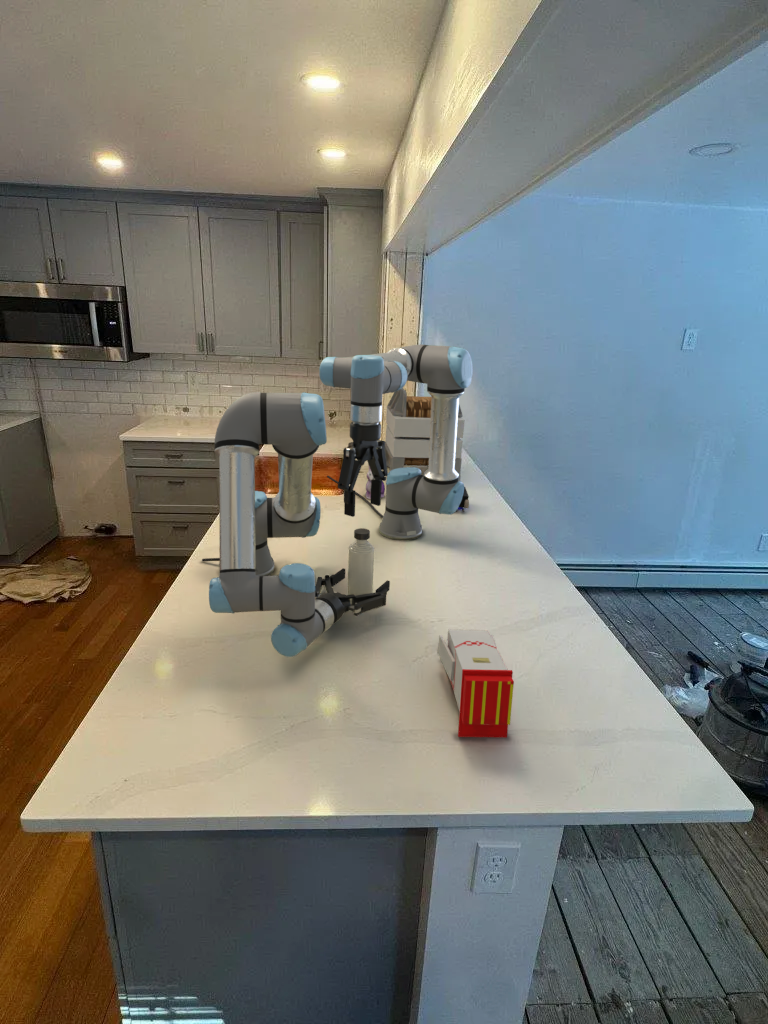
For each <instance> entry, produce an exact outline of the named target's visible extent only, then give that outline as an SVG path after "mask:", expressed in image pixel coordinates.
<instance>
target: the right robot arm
mask: <svg viewBox="0 0 768 1024" xmlns="http://www.w3.org/2000/svg"><path fill="white" fill-rule="evenodd" d="M473 368H474V367H473V360H472V356H471V354H470V352H469V351H468V350H467V349H466V348H464V347H458V346H454V345H435V344H434V345H433V344H420V343H419V344H412V345H405V346H399V347H394V348H391V349H390V350H388V351H387V352H381V353H380V352H379V353H372V354H355V355H354V356H347V357H346V356H345V357H338V356H327V357H324V358H323V359H322V361H321V362H320V364H319V373H318V375H319V379H320V381H321V383H322V384H323V385H324V386H327V387H331V388H332V387H333V388H341V389H348V390H349V389H350V411H349V412H350V415H349V417H350V418H349V420H350V423H349V438H350V439H351V440H352V442H353V445H352V447H351V448H347V447H344V448H343V450H342V451H343V454H342V455H343V458H342V463H341V468H340V473H339V478H338V480H336V479H335V478H333V477H331V476H330V475H327V476H326V478H328V479H329V480H331V481H332V482H334V483H335V484H336V485H337V489H339V490H343V504H344V505H343V506H344V507H343V509H344V510H343V514H344V516H345V515H346V516H349V517H352V518H354V517H356V496H357V497H359V498H360V499H362V500H363V501H364V502H365V503H366V504H367V505H369V507H370V508H371V509H372V510H373V511H374V513H376V515H378V516H379V517H380V518H381V522H379V526H378V533H379V534H380V535H381V536H382V537H385V538H387V539H389V540H395V541H410V540H415V539H418V538H420V537H421V536H422V535H423V525H422V524H421V518H420V515H419V510H421V511H427V512H432V513H436V514H439V515H442V514H443V515H448V516H449V515H453V514H454V513H456V510H457V511H458V507H459V505H460V503H461V500H462V497H463V493H464V487H465V484H464V482H463V481H462V480H460V481H458V479H459V474H458V473H457V472H456V471H455V454H456V438H457V423H458V407H459V405H460V398H461V396H462V395H463V394H464V393H465V389H466V388H469V387H470V386H471V384H472V378H473V373H474V371H473ZM407 382H412V383H418V384H425V385H426V392H427V393H428V394H429V395H430V397H432V399H431V422H430V444H429V465H428V466H427V469H426V470H424V472H423V474H422V470H421V468H419V467H415V466H411V467H410V466H406V467H405V466H404V468H397V469H393V470H391V471H390V470H388V467H387V464H386V457H385V450H384V449H385V442H386V441H385V440H381V437H382V424H381V423H382V420H383V395H385V394H389V393H390V394H391V393H393V394H394V392H396V391H397V390H400V389H402V388H403V389H404V387H405V386H406V384H407ZM365 462H367V465H368V464H369V466H368V468H369V467H370V469H371V472H372V475H373V477H374V479H372V480H371V499H370V501H369V499H367V498H365V496H363V495H361V494H360V493H358V492H357V491H356V490H354V488H355V486H356V483H357V480H358V478H359V474H360V472H361V469H362V467H363V466H364V465H365ZM382 481H383V482H385V504H384V505H385V507H384V508H385V509H384V513H383V514H382V513H381V512H379V511H378V510H377V508H375V506H378V507H380V506H381V504H382V503H381V502H382V498H381V490H382ZM374 505H375V506H374Z"/></svg>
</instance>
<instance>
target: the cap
mask: <svg viewBox="0 0 768 1024" xmlns="http://www.w3.org/2000/svg"><path fill="white" fill-rule="evenodd" d="M353 538H354V539H355V540H356V539H357V540H367V541H368V540H369V539H370V538H371V530H370V529H368V528H361V527H360V528H355V529H354V531H353Z"/></svg>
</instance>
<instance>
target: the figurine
mask: <svg viewBox="0 0 768 1024" xmlns="http://www.w3.org/2000/svg"><path fill="white" fill-rule="evenodd" d="M367 465H368V471H367V473H366V478H367V482H366V484H365V491H366V492H365V496H364V497H366V498H365V499H367V500H371V480H372V479H374V477H373V475H372V472H371V469H370V467H369V464H368V463H367ZM385 493H386V485H385V483H384V481H383V480H382V490H381V499H382V498H384V497H385Z"/></svg>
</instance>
